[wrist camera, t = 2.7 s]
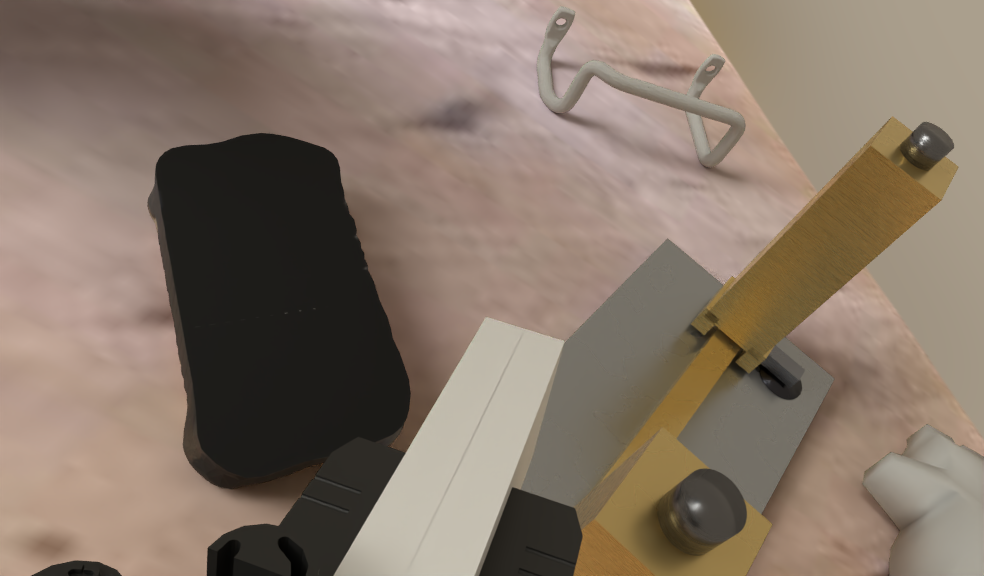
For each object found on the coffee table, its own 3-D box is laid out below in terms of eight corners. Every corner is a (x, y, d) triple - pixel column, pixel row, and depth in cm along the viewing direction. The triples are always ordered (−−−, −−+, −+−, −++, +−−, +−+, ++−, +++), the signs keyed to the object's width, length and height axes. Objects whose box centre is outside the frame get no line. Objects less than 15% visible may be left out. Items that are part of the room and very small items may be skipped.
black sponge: (403, 475, 34) (430, 434, 32) (190, 514, 30) (201, 471, 28) (316, 183, 43) (331, 132, 40) (138, 183, 38) (142, 126, 36)
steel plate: (275, 639, 29) (282, 629, 28) (657, 251, 49) (668, 237, 48) (533, 909, 27) (549, 907, 26) (820, 389, 47) (835, 378, 46)
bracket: (689, 108, 61) (728, 51, 57) (715, 180, 55) (760, 122, 52) (529, 59, 57) (561, -6, 53) (541, 132, 51) (576, 65, 48)
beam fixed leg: (397, 682, 28) (595, 514, 17) (713, 295, 46) (908, 92, 35) (529, 818, 27) (829, 731, 16) (799, 367, 45) (1027, 182, 34)
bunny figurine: (1057, 469, 44) (1140, 752, 32) (981, 516, 47) (1032, 787, 36) (903, 380, 44) (932, 633, 32) (839, 433, 47) (844, 679, 35)
